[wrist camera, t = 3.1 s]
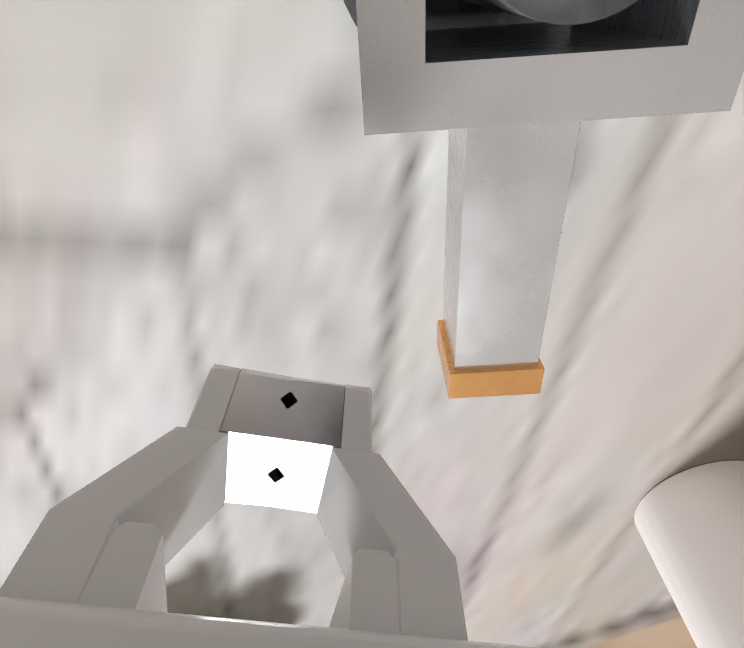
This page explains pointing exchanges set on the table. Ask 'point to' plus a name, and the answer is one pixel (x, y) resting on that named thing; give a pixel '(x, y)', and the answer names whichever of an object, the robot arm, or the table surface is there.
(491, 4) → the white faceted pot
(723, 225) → the table surface
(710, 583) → the cylinder container
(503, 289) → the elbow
